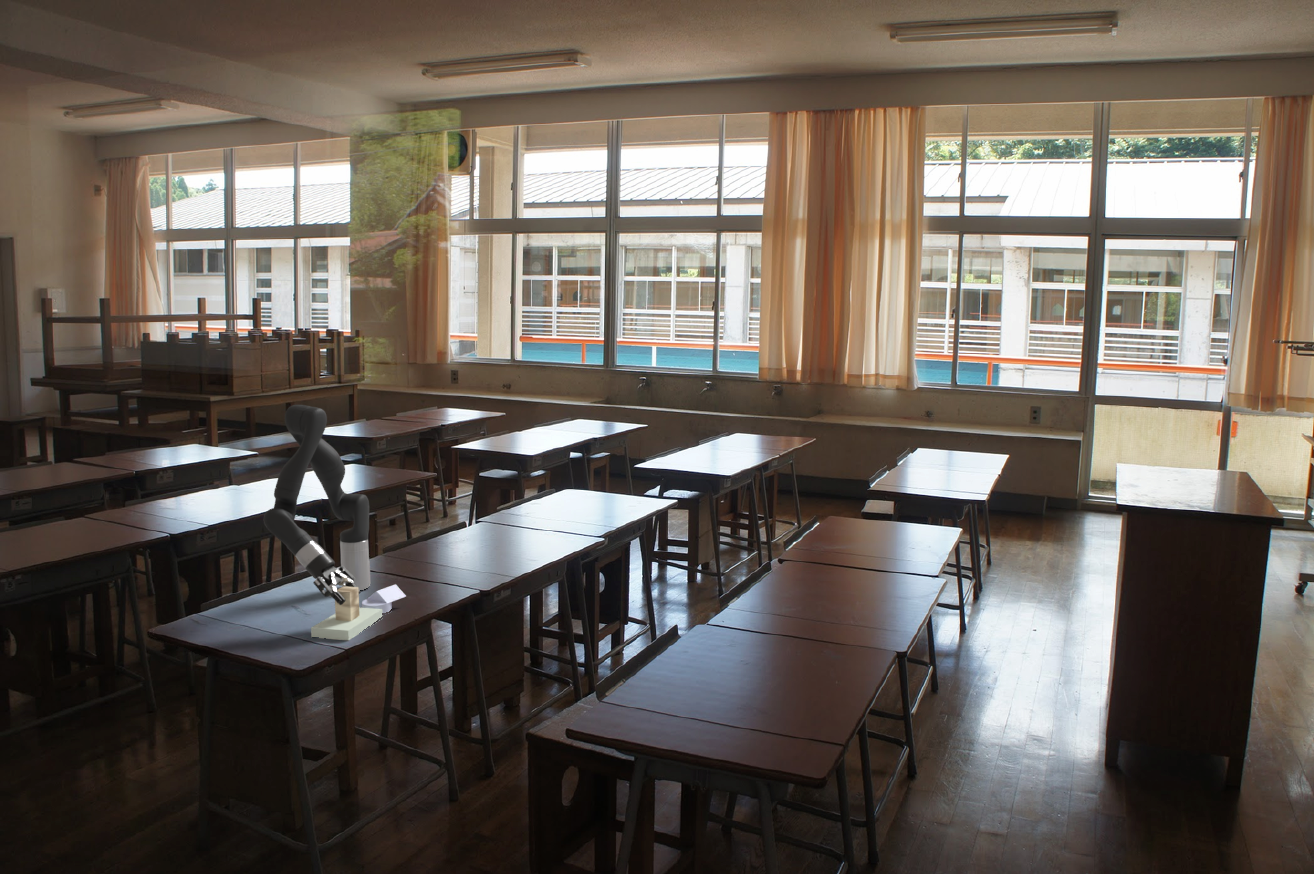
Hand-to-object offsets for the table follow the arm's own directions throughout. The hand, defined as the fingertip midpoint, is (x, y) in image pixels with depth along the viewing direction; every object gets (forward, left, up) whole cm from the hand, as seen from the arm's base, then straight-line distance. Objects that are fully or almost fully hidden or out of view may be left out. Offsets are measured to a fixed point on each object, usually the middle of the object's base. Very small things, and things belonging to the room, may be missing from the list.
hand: (351, 598), depth 273 cm
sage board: (0, -1, -9) cm, 9 cm away
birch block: (0, -1, -6) cm, 6 cm away
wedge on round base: (-18, 0, -9) cm, 20 cm away
